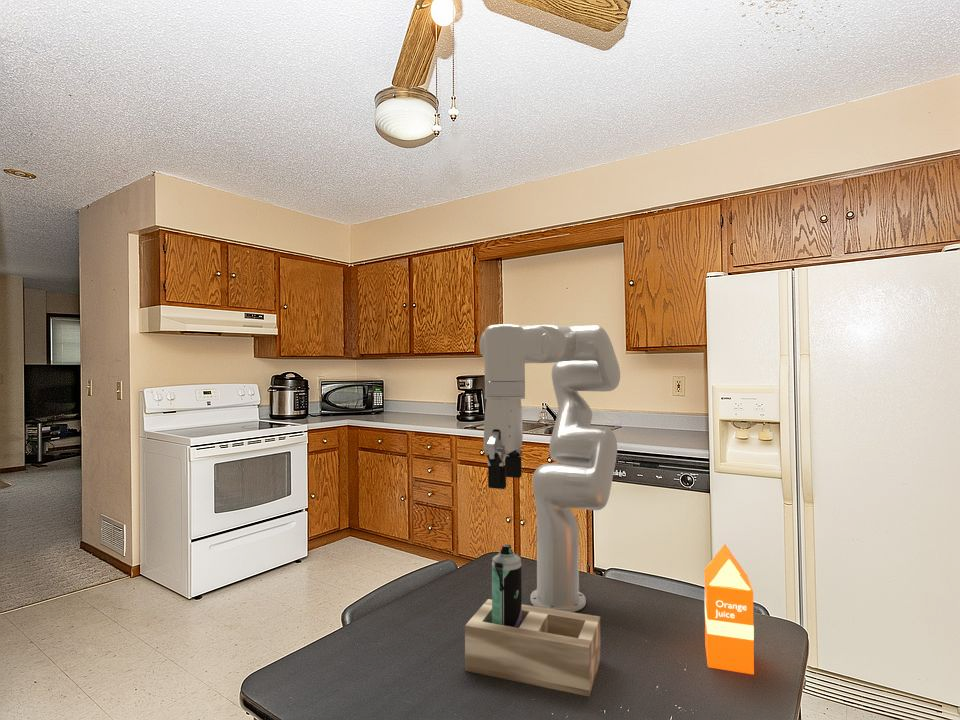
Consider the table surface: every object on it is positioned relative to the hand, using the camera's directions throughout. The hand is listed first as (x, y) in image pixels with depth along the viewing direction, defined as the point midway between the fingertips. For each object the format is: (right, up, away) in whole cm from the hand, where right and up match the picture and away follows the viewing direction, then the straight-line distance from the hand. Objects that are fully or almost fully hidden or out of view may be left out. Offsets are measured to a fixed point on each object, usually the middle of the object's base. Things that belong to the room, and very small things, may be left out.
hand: (505, 482), depth 104 cm
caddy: (+5, -33, -3) cm, 33 cm away
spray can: (0, -32, -1) cm, 32 cm away
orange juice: (+41, -33, -1) cm, 53 cm away
